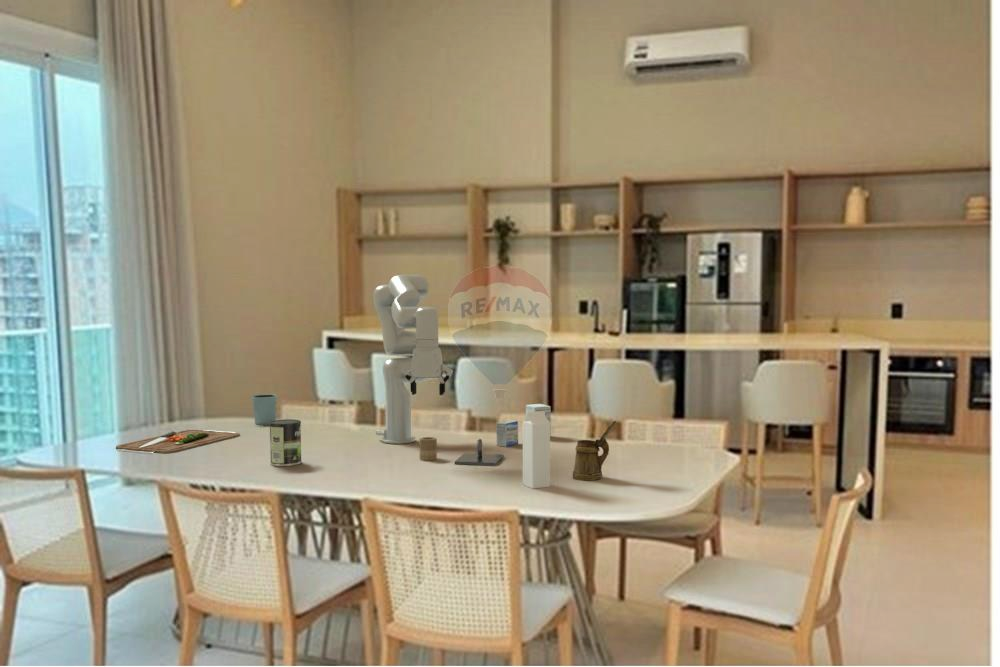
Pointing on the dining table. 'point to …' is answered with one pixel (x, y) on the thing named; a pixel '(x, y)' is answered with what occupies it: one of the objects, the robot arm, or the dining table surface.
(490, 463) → the holder
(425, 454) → the cylinder
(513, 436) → the medicine box
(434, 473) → the dining table surface
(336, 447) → the dining table surface
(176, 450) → the chopping board
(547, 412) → the supplement box
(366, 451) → the dining table surface
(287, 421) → the coffee can
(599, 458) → the wooden mug
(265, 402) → the blue cup
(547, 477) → the milk
